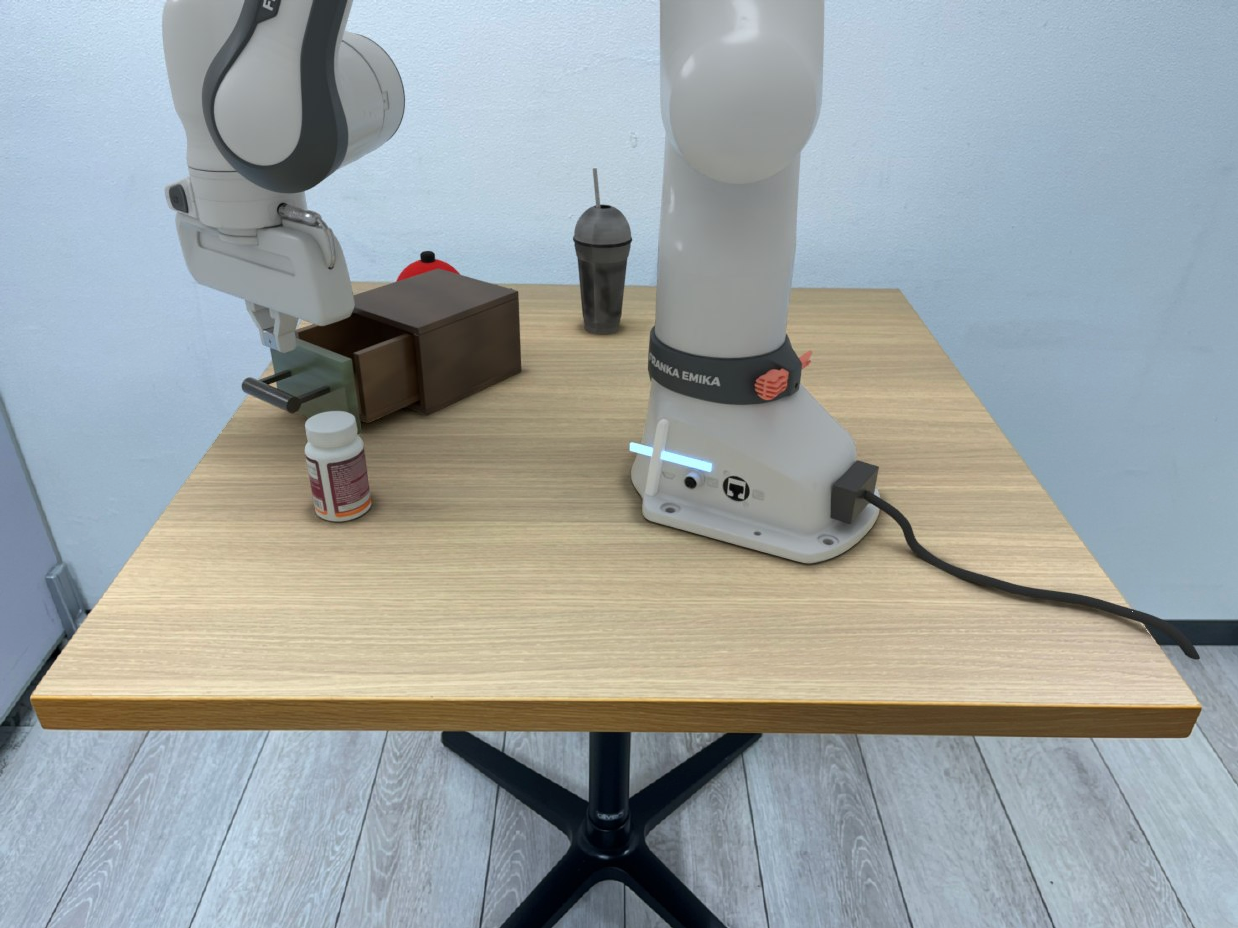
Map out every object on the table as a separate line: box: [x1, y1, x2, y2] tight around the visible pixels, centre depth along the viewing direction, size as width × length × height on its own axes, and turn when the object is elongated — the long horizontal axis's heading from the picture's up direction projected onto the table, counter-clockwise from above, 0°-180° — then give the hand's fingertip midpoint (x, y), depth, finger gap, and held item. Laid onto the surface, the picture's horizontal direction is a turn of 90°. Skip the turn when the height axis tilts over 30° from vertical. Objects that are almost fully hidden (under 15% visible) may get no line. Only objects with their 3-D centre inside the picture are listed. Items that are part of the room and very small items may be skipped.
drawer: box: [241, 313, 420, 436], centre depth 92 cm, size 18×11×8 cm, turn 143°
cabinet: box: [352, 269, 522, 416], centre depth 100 cm, size 15×13×10 cm
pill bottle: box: [304, 411, 372, 522], centre depth 76 cm, size 5×5×8 cm
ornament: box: [395, 250, 461, 282], centre depth 113 cm, size 9×9×10 cm
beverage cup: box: [572, 167, 633, 336], centre depth 112 cm, size 7×7×20 cm
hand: (280, 347), depth 84 cm, fingers closed
